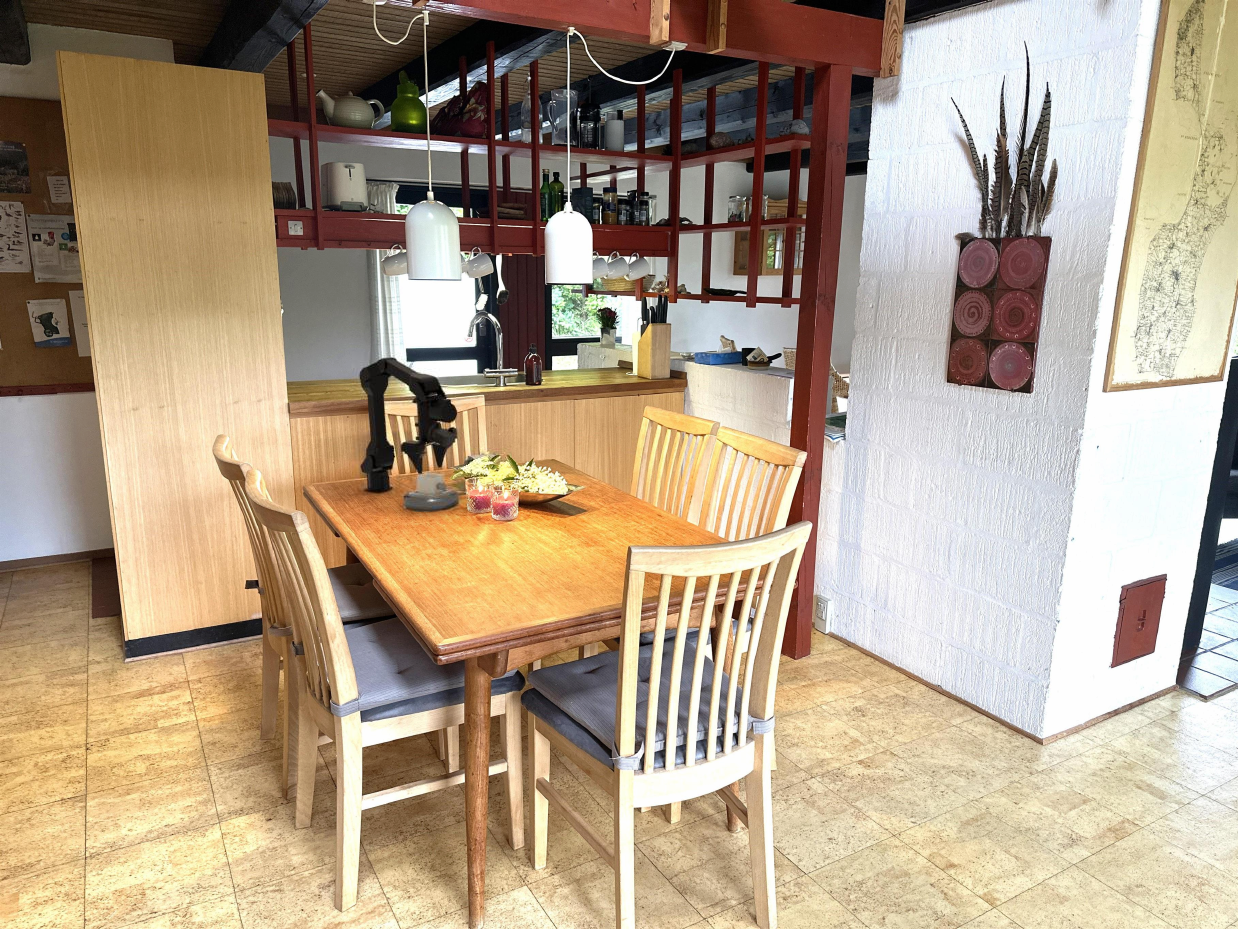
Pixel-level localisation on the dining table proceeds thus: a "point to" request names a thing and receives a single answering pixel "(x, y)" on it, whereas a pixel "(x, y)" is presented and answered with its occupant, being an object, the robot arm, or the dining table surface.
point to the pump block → (430, 484)
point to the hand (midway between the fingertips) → (430, 470)
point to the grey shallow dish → (431, 500)
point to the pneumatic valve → (476, 457)
